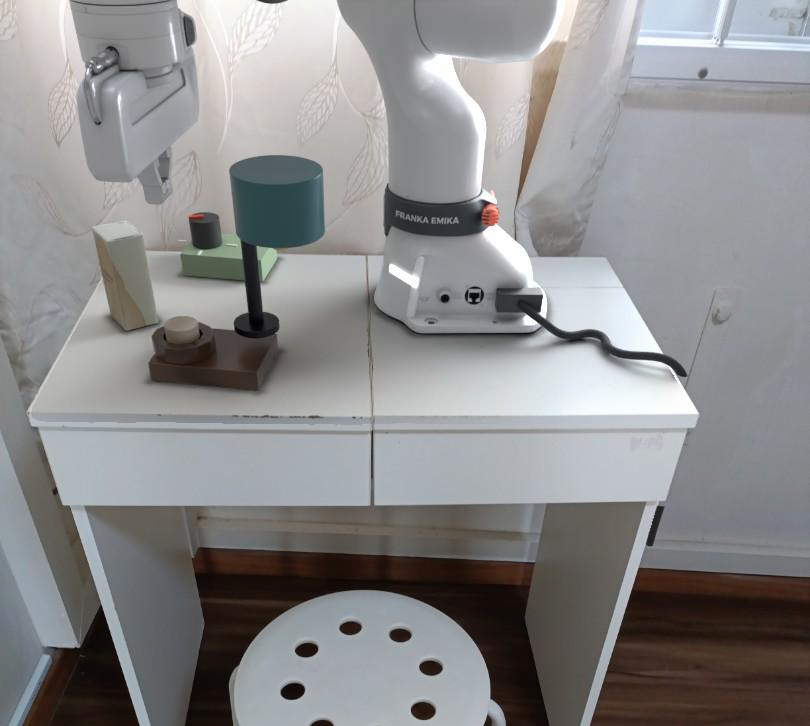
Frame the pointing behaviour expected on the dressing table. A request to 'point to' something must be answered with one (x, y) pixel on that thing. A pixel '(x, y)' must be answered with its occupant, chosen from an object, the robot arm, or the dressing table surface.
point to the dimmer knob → (205, 230)
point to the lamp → (273, 221)
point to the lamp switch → (181, 330)
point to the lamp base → (213, 359)
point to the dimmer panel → (223, 260)
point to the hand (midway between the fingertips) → (160, 199)
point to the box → (125, 274)
